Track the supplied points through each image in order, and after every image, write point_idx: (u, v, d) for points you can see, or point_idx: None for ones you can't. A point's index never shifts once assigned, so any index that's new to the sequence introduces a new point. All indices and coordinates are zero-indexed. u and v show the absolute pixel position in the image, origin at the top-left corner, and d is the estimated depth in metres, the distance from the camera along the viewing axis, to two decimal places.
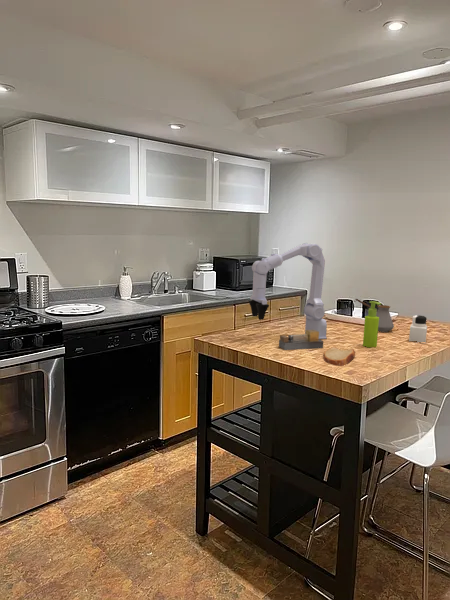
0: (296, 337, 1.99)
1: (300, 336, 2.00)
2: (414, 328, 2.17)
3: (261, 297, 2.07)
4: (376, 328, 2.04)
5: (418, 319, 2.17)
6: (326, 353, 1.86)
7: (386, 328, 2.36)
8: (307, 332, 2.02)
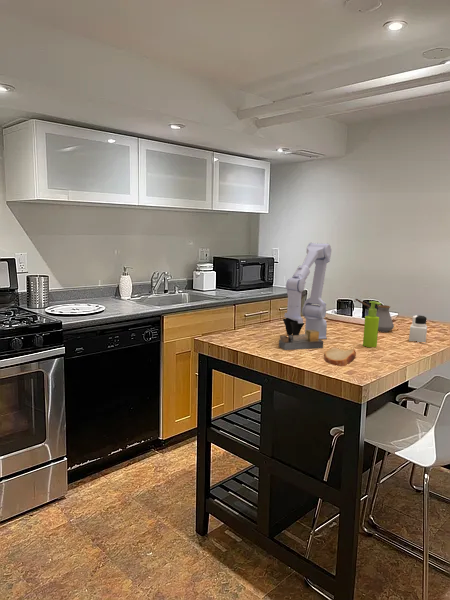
0: (296, 337, 1.99)
1: (300, 336, 2.00)
2: (414, 328, 2.17)
3: (296, 315, 2.01)
4: (376, 328, 2.04)
5: (418, 319, 2.17)
6: (327, 353, 1.86)
7: (386, 328, 2.36)
8: (307, 332, 2.02)
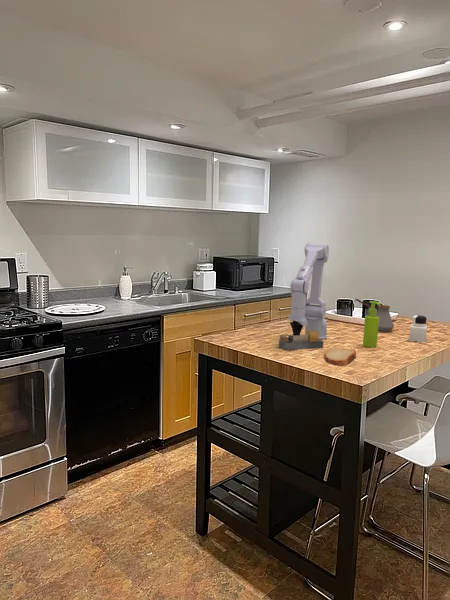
0: (296, 337, 1.99)
1: (300, 336, 2.00)
2: (414, 328, 2.17)
3: (300, 317, 1.97)
4: (377, 328, 2.04)
5: (418, 319, 2.17)
6: (327, 353, 1.86)
7: (386, 328, 2.36)
8: (307, 332, 2.02)
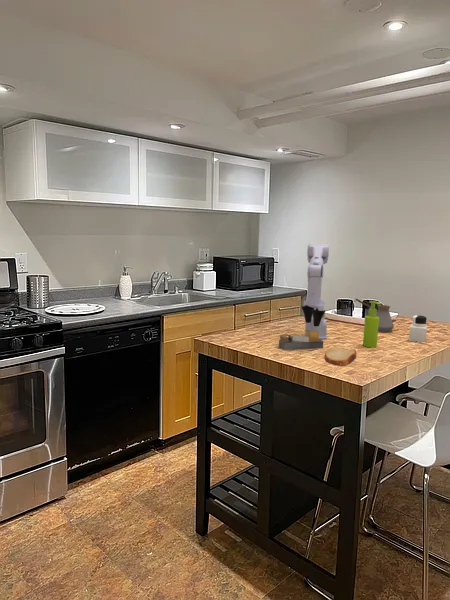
0: (296, 338, 1.98)
1: (300, 337, 1.98)
2: (414, 328, 2.17)
3: (317, 303, 1.98)
4: (377, 328, 2.04)
5: (418, 319, 2.17)
6: (327, 353, 1.86)
7: (386, 328, 2.36)
8: (307, 332, 2.02)
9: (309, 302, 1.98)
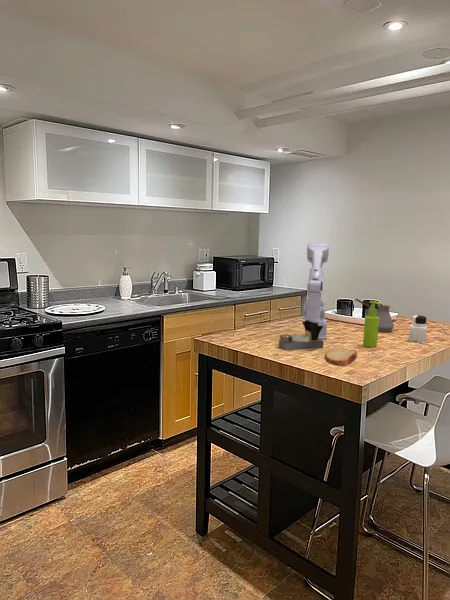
0: (296, 338, 1.98)
1: (300, 337, 1.98)
2: (414, 328, 2.17)
3: (316, 318, 1.99)
4: (377, 328, 2.04)
5: (418, 319, 2.17)
6: (328, 353, 1.86)
7: (386, 328, 2.36)
8: (307, 332, 2.02)
9: (309, 317, 1.99)
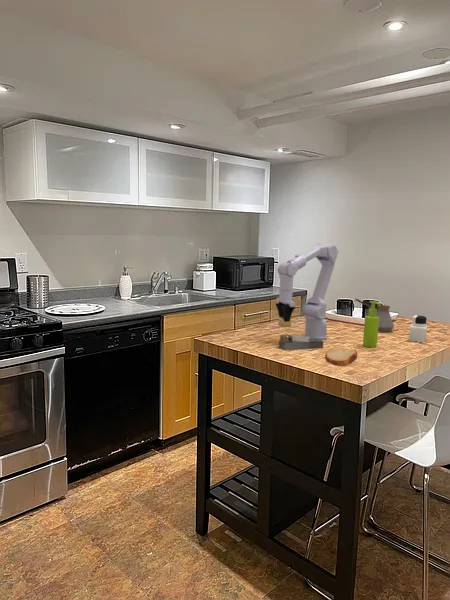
0: (296, 338, 1.98)
1: (300, 337, 1.98)
2: (414, 328, 2.17)
3: (288, 299, 2.04)
4: (377, 328, 2.04)
5: (418, 319, 2.17)
6: (328, 353, 1.86)
7: (386, 328, 2.36)
8: (280, 319, 2.08)
9: (281, 299, 2.05)
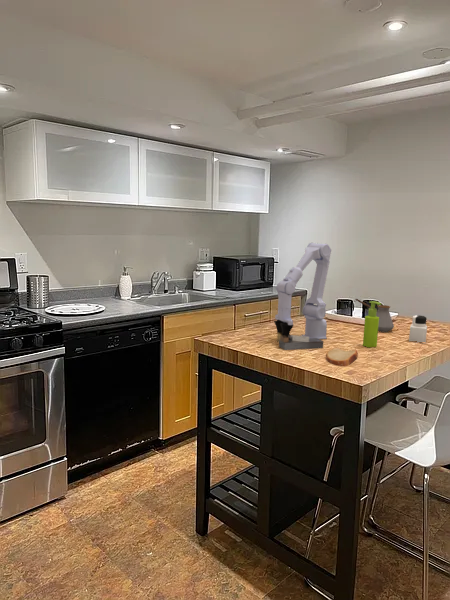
0: (296, 338, 1.98)
1: (300, 337, 1.98)
2: (414, 328, 2.17)
3: (286, 317, 2.05)
4: (376, 328, 2.04)
5: (418, 319, 2.17)
6: (329, 353, 1.86)
7: (386, 328, 2.36)
8: (278, 335, 2.09)
9: (279, 316, 2.06)
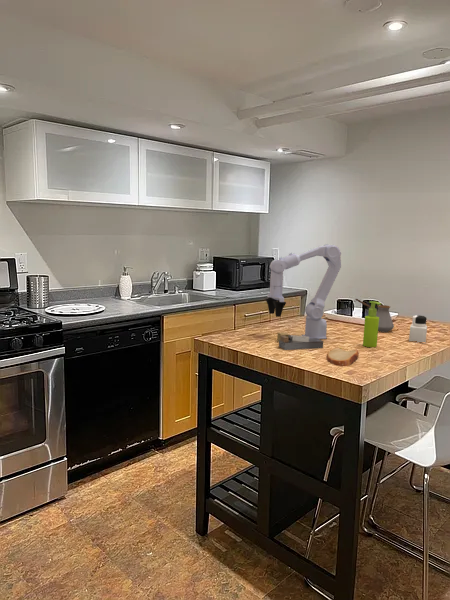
0: (296, 338, 1.98)
1: (300, 337, 1.98)
2: (414, 328, 2.17)
3: (278, 295, 2.14)
4: (376, 328, 2.04)
5: (418, 319, 2.17)
6: (329, 353, 1.86)
7: (386, 328, 2.36)
8: (278, 335, 2.09)
9: (271, 294, 2.14)
